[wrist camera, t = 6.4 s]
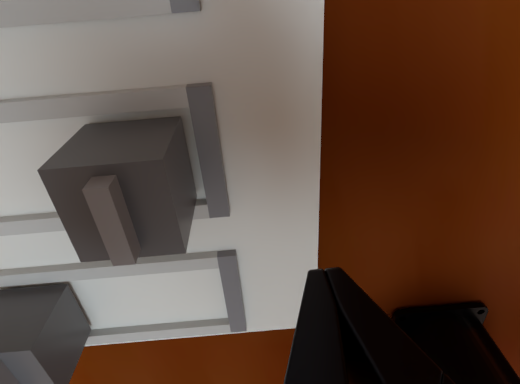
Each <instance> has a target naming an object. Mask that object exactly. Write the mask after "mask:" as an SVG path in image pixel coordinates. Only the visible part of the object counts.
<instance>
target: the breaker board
mask: <svg viewBox="0 0 520 384" xmlns="http://www.w3.org/2000/svg"><path fill="white" fill-rule="evenodd" d="M323 34H324V0H0V290H4V289H16V288H27V287H39V286H51V285H62V284H68V286H69V288H70V290H71V292H72V294H73V295H74V297H75V299H76V301H77V303H78V305H79V307H80V309H81V311H82V313H83V314H84V316H85V318H86V320H87V322H88V324H89V326H90V328H91V332H90V334H89V336H88V339H87V341H86V343H85V346H94V345H105V344H117V343H128V342H140V341H151V340H163V339H175V338H186V337H198V336H209V335H221V334H232V333H244V332H255V331H267V330H279V329H290V328H296V324H297V319H298V315H299V310H300V306H301V301H302V296H303V292H304V287H305V282H306V278H307V273H308V271H309V270H312V269H318V230H319V191H320V152H321V112H322V73H323ZM176 116H181V119H182V124H183V129H184V134H185V139H186V144H187V149H188V154H189V159H190V164H191V169H192V174H193V179H194V184H195V188H196V193H197V199H196V204H195V210H194V215H193V220H192V225H191V230H190V235H189V240H188V245H187V250H186V254H175V255H163V256H151V257H140V258H138V260H137V262H136V264H134V265H123V266H113V265H112V262H111V260H105V261H93V262H82V263H81V262H80V260H79V258H78V255H77V253H76V251H75V249H74V247H73V245H72V243H71V241H70V239H69V236H68V234H67V232H66V230H65V228H64V226H63V224H62V222H61V220H60V218H59V215H58V213H57V211H56V209H55V207H54V205H53V203H52V201H51V199H50V196H49V194H48V192H47V190H46V188H45V186H44V184H43V182H42V180H41V177H40V175H39V173H38V171H37V170H38V169H39V168H40V167H41V166H42V165H43V164H44V163H45V162H46V161H47V160H48V159H49V158H50V157H51V156H52V155H54V154H55V153H56V152H57V151H58V150H59V149H60V148H61V147H62V146H63V145H64V144H65V143H66V142H67V141H68V140H69V139H70V138H71V137H72V136H73V135H74V134H75V133H76V132H77V131H78V130H80V129H81V128H82V127H83V126H84V125H85V124H93V123H105V122H117V121H129V120H140V119H152V118H164V117H176Z"/></svg>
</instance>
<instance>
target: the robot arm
mask: <svg viewBox="0 0 520 384" xmlns="http://www.w3.org/2000/svg"><path fill="white" fill-rule="evenodd" d="M487 313H488V308H487V307H486V306H485V304H484V303H469V304H458V305H446V306H434V307H423V308H411V309H401V310H397V311H396V312H395V313H394V314H393V318H392V319H391V318H390V317H389V316H388V315H387V314H386V313H385V312H384V311H383V310H382V309H381V308H380V307H379V306H378V305H377V304H376V303H375V302H374V301H373V300H372V299H371V298H370V297H369V296H368V295H367V294H366V293H365V292H364V291H363V290H362V289H361V288H360V287H359V286H358V285H357V284H356V283H355V282H354V281H353V280H352V279H351V278H350V277H349V276H348V275H347V274H346V273H345V272H344V271H343V270H342V269H341V268H339V267H336V268H326V269H325V270H323V269H312V270H309V271H308V273H307V278H306V282H305V287H304V292H303V296H302V301H301V306H300V310H299V315H298V319H297V324H296V329H295V333H294V338H293V343H292V347H291V352H290V357H289V361H288V366H287V370H286V375H285V380H284V384H520V378H519V377H518V375H517V374H516V372H515V371H514V370H513V368H512V367H511V365H510V364H509V362H508V361H507V359H506V358H505V357H504V355H503V354H502V352H501V351H500V349H499V348H498V346H497V345H496V344H495V342H494V341H493V339H492V338H491V336H490V335H489V333H488V332H487V331H486V329H485V328H484V326H483V325H482V324H483V322H484V320H485V317H486V315H487Z"/></svg>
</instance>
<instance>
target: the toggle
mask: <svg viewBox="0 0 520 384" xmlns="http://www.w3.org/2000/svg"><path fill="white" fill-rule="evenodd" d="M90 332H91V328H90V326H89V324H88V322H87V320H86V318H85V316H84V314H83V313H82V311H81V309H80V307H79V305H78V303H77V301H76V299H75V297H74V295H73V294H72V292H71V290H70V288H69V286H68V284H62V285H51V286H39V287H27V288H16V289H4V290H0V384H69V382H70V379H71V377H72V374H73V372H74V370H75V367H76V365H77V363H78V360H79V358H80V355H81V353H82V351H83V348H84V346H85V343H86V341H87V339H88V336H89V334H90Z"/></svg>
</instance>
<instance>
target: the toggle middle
mask: <svg viewBox="0 0 520 384" xmlns="http://www.w3.org/2000/svg"><path fill="white" fill-rule="evenodd" d="M37 171H38V173H39V175H40V177H41V180H42V182H43V184H44V186H45V188H46V190H47V192H48V194H49V196H50V199H51V201H52V203H53V205H54V207H55V209H56V211H57V213H58V215H59V218H60V220H61V222H62V224H63V226H64V228H65V230H66V232H67V234H68V236H69V239H70V241H71V243H72V245H73V247H74V249H75V251H76V253H77V255H78V258H79V260H80V262H81V263H82V262H93V261H105V260H111V262H112V265H113V266H123V265H134V264H136V262H137V260H138V258H140V257H151V256H163V255H175V254H186V250H187V245H188V240H189V235H190V230H191V225H192V220H193V215H194V210H195V204H196V199H197V193H196V188H195V184H194V179H193V174H192V169H191V164H190V159H189V154H188V149H187V144H186V139H185V134H184V129H183V124H182V119H181V116H176V117H164V118H152V119H140V120H129V121H117V122H105V123H93V124H85V125H84V126H83V127H82V128H81V129H80V130H78V131H77V132H76V133H75V134H74V135H73V136H72V137H71V138H70V139H69V140H68V141H67V142H66V143H65V144H64V145H63V146H62V147H61V148H60V149H59V150H58V151H57V152H56V153H55V154H54V155H52V156H51V157H50V158H49V159H48V160H47V161H46V162H45V163H44V164H43V165H42V166H41V167H40V168H39V169H38V170H37Z"/></svg>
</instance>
